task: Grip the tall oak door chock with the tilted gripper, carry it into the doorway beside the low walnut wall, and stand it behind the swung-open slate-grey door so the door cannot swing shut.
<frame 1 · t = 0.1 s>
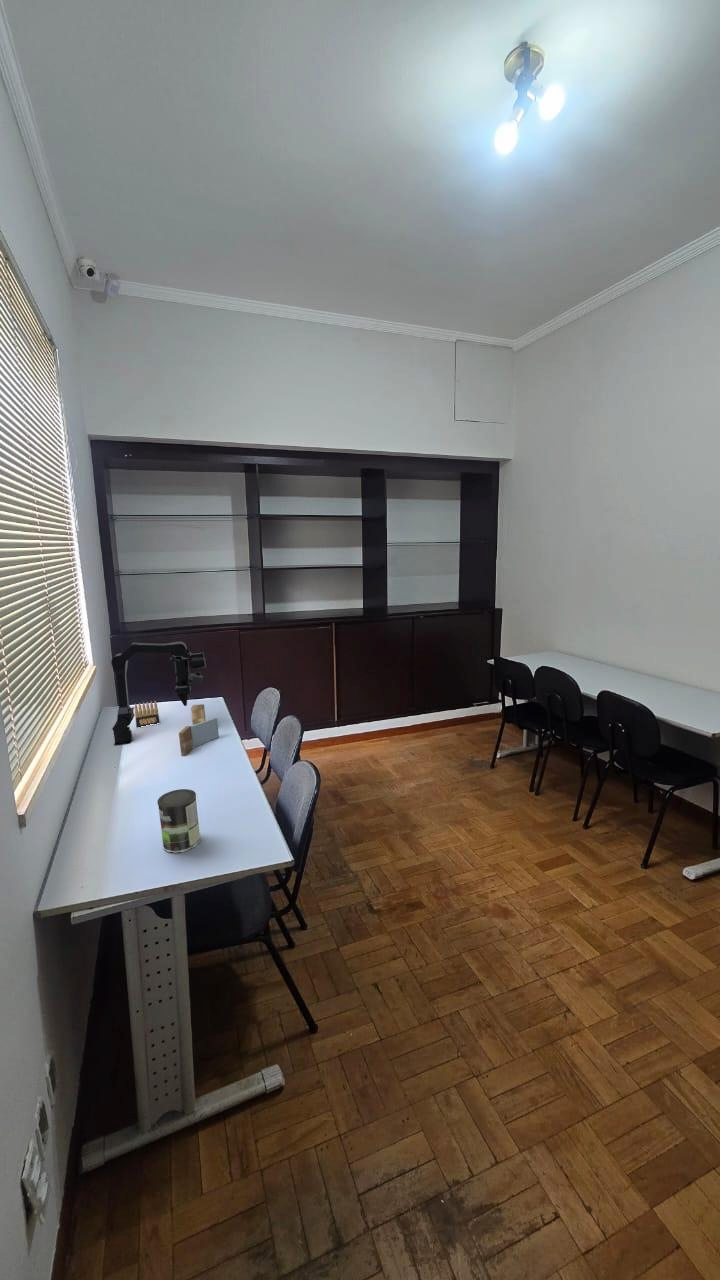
hand: (186, 703, 234), 15 cm above the table, tool pointing down, fingers open, 9 cm apart
coffee can: (182, 843, 147), on the table
ammunition clip: (148, 725, 250), on the table
partition wall: (199, 740, 227), on the table
door chock: (200, 731, 238), on the table
door: (204, 731, 223), point 5 cm above the table, hinge at 35.0°
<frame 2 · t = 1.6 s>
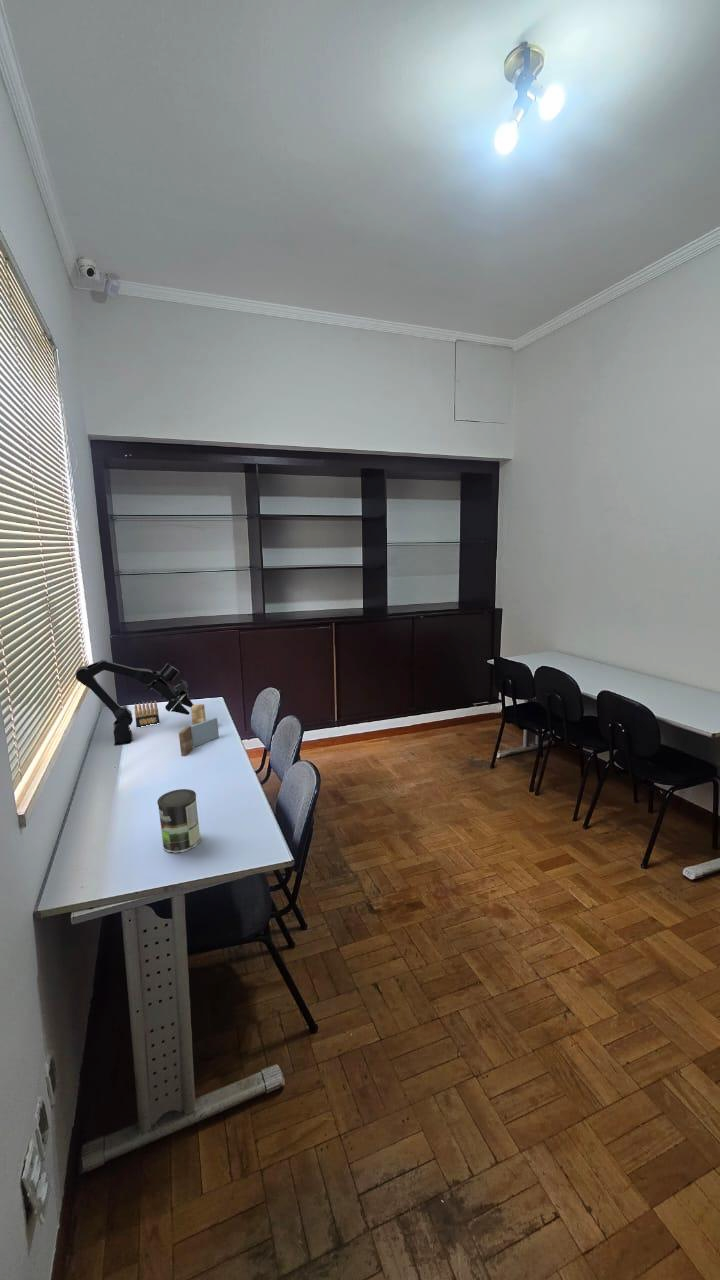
hand: (191, 710, 236), 10 cm above the table, tool tilted 45°, fingers open, 9 cm apart
nothing on the table moved.
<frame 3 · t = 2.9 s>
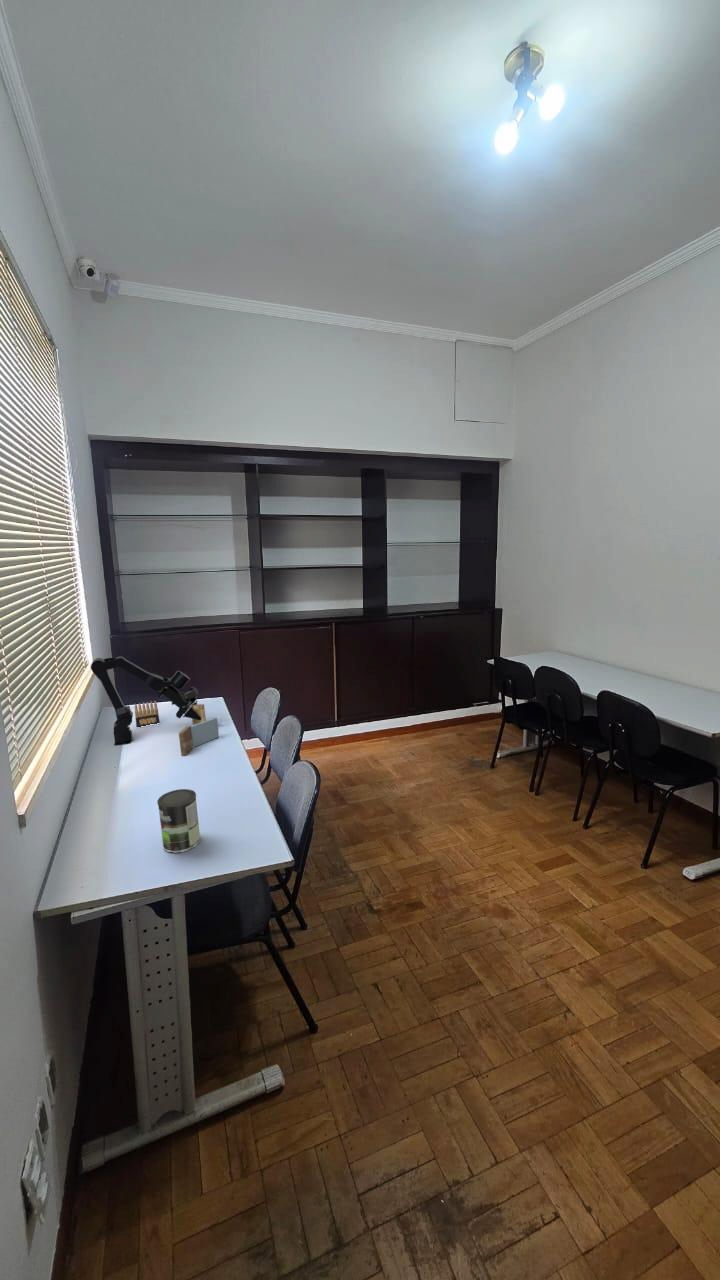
hand: (201, 717, 237), 7 cm above the table, tool tilted 45°, fingers closed on door chock, 4 cm apart
door chock: (200, 731, 238), on the table, touching gripper
everything else where it was.
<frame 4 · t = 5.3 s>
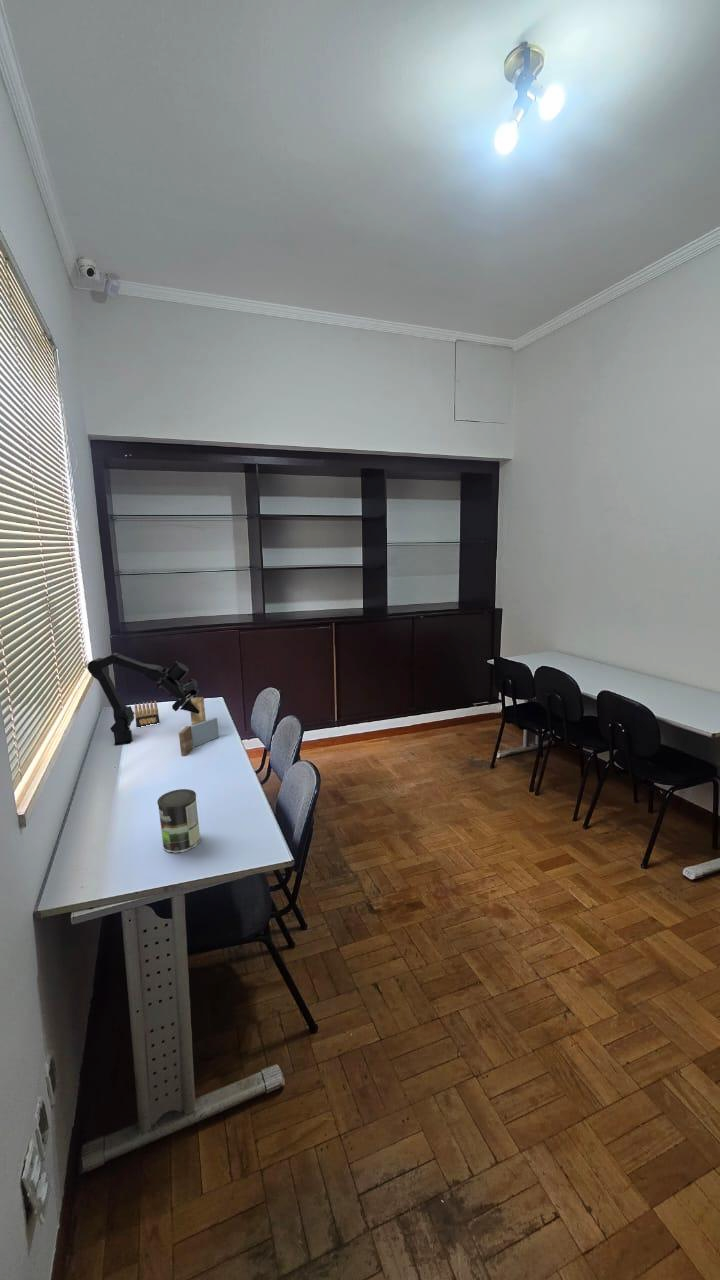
hand: (200, 711, 227), 13 cm above the table, tool tilted 45°, fingers closed on door chock, 4 cm apart
door chock: (199, 725, 228), point 6 cm above the table, touching gripper
everything else where it was.
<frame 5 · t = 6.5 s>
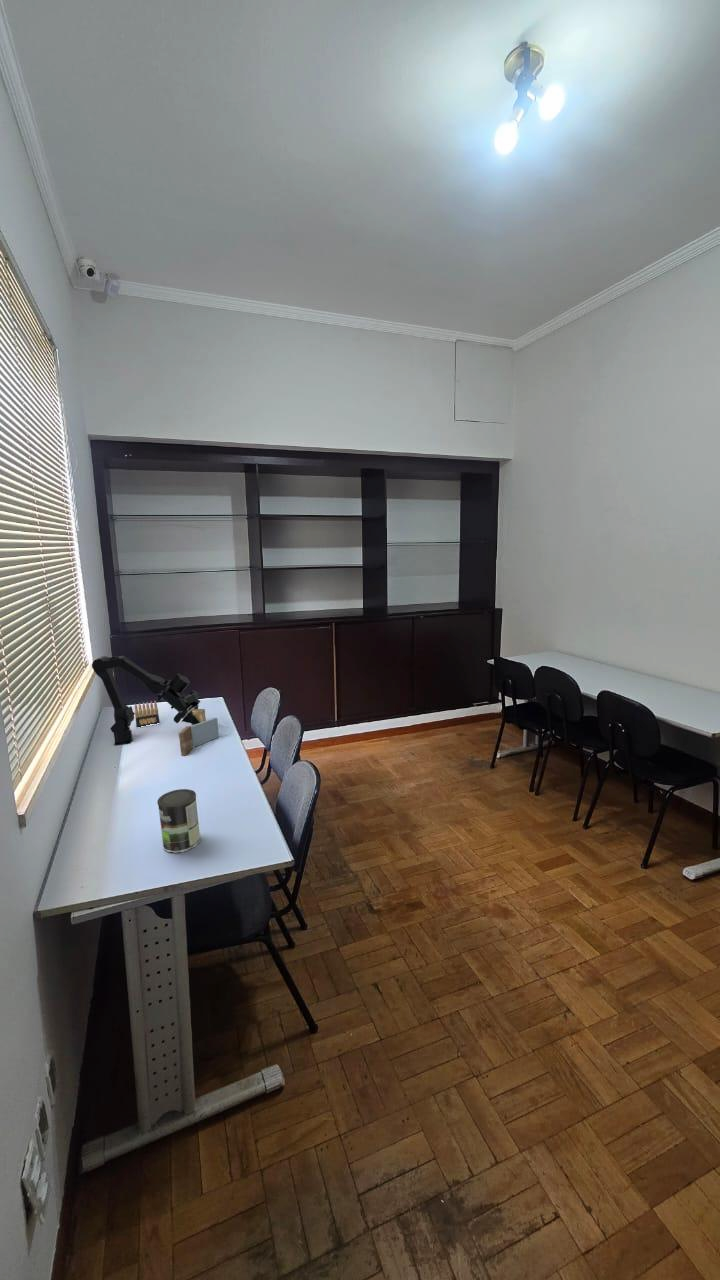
hand: (201, 723, 228), 7 cm above the table, tool tilted 45°, fingers closed on door chock, 4 cm apart
door chock: (200, 737, 229), point 1 cm above the table, touching gripper
everything else where it was.
when the fingers open (7 cm above the table, at t = 7.5 s): door chock stays where it is, on the table.
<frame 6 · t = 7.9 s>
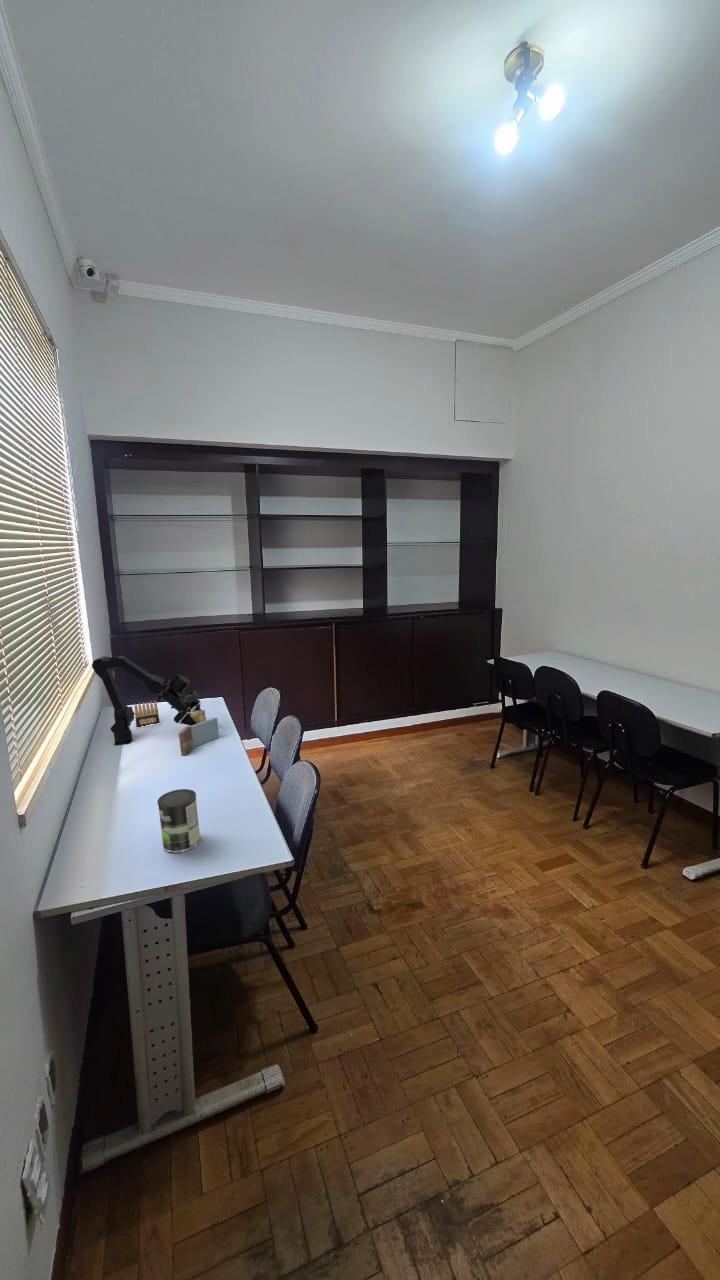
hand: (202, 723, 228), 7 cm above the table, tool tilted 45°, fingers open, 9 cm apart
door chock: (200, 738, 229), on the table
everything else where it was.
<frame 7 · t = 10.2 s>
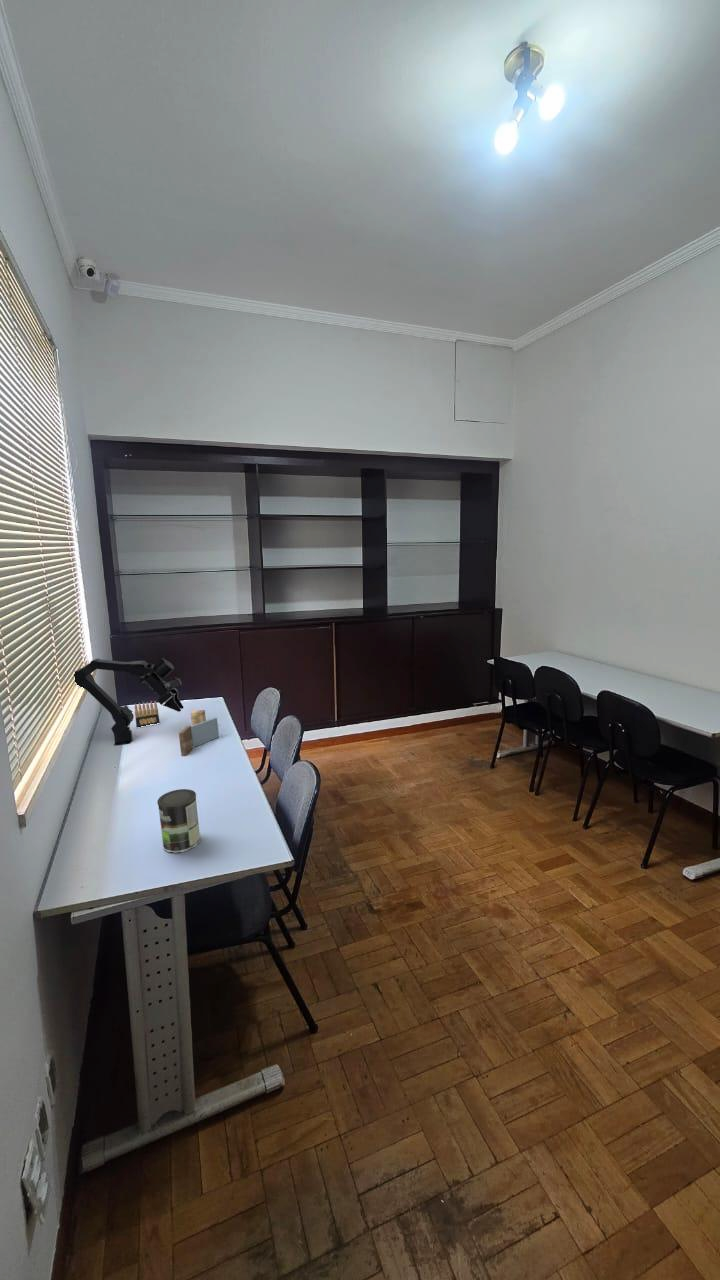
hand: (181, 709, 229), 13 cm above the table, tool tilted 40°, fingers open, 9 cm apart
nothing on the table moved.
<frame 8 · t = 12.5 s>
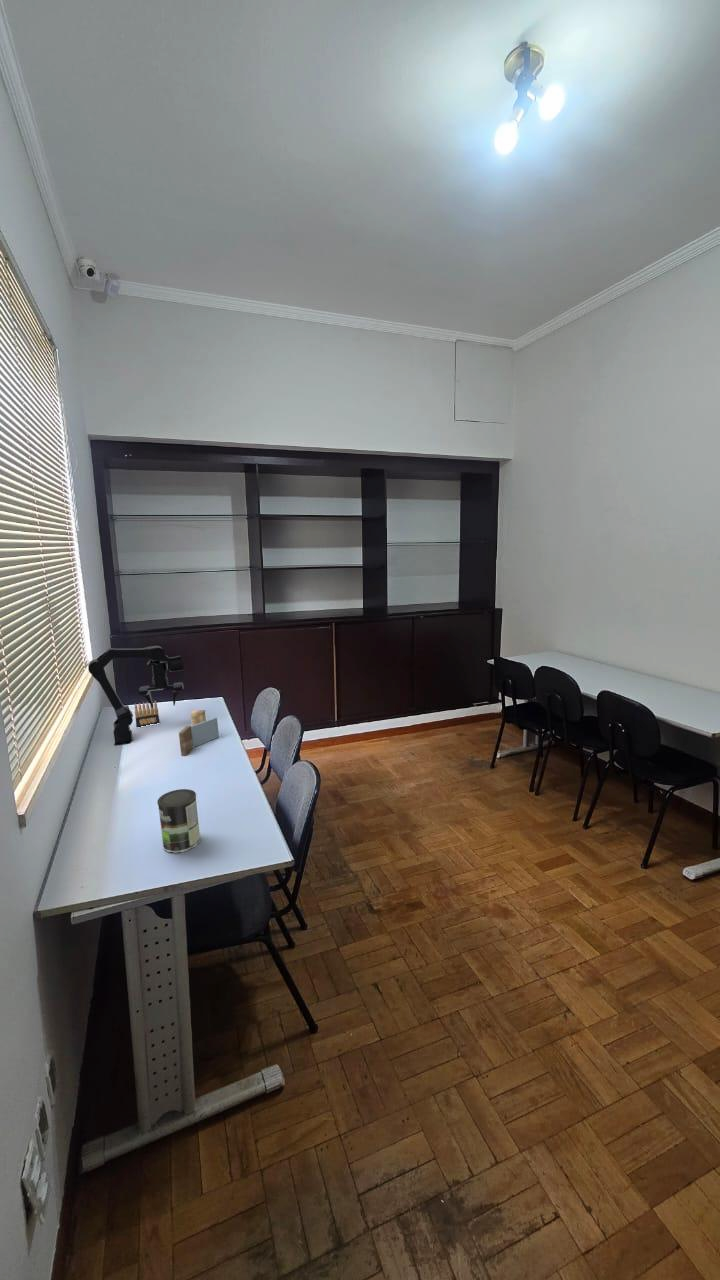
hand: (163, 706, 235), 13 cm above the table, tool pointing down, fingers open, 9 cm apart
nothing on the table moved.
at the end: door chock 0.1 cm from the target spot, on the table; door chock tilted 0°; door at +35° (first picture: +35°) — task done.
